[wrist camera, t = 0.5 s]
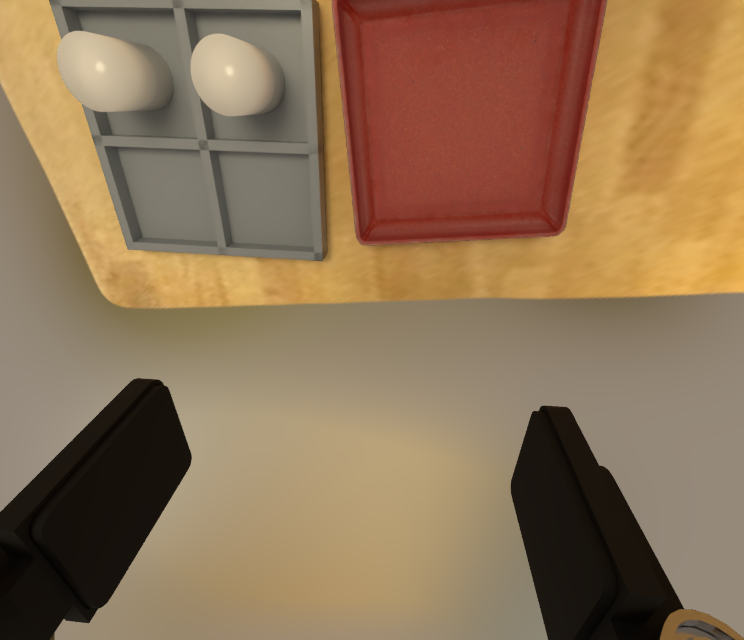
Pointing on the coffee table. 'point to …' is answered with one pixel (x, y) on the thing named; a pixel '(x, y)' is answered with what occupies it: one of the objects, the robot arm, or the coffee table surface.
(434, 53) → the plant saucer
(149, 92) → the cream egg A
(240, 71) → the cream rounded cylinder
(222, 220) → the gray divided tray
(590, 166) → the coffee table surface
